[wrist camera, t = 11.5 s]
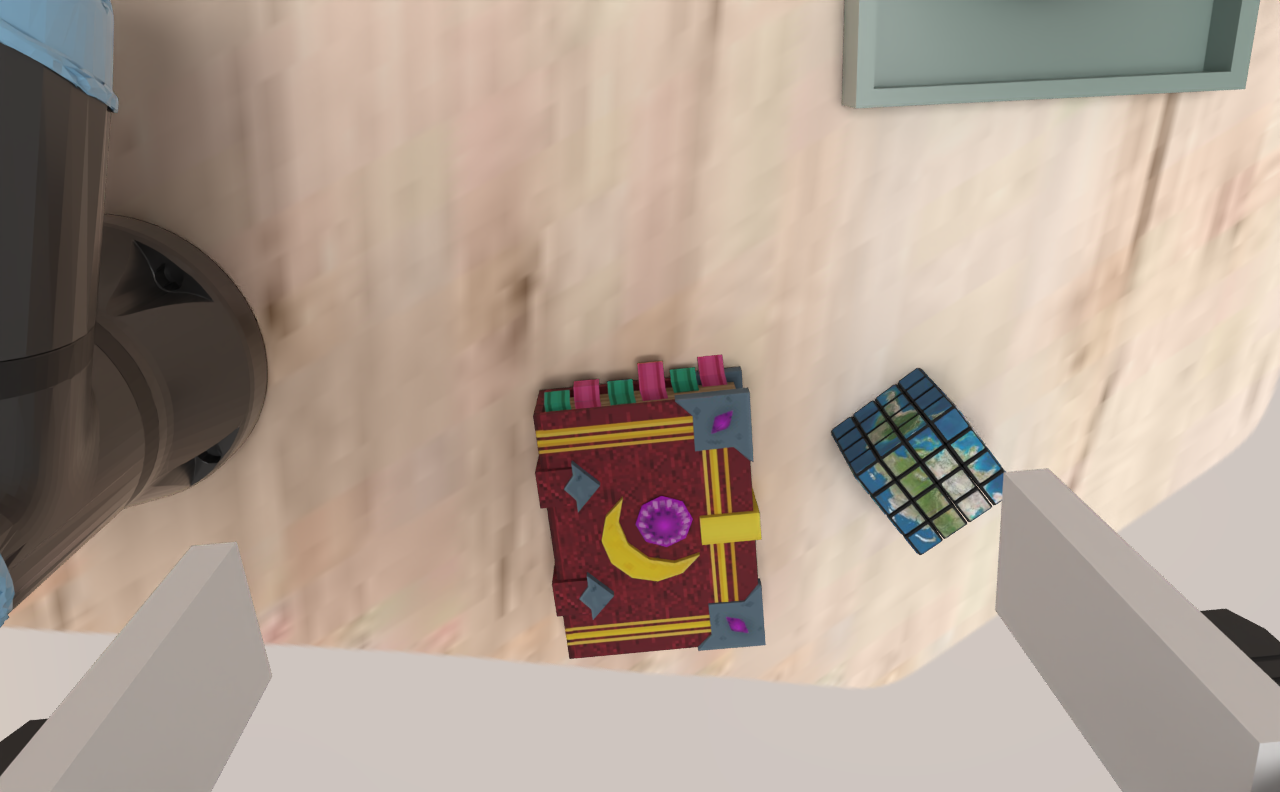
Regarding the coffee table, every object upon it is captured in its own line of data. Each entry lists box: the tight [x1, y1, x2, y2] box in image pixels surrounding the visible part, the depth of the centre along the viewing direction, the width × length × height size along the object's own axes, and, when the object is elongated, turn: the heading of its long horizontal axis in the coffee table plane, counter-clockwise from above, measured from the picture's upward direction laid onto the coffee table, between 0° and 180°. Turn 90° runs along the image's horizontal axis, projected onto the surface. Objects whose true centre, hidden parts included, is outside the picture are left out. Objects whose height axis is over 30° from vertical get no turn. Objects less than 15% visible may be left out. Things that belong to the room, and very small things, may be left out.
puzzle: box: [831, 368, 1006, 555], centre depth 49 cm, size 6×6×6 cm
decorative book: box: [533, 355, 766, 659], centre depth 51 cm, size 11×16×5 cm
